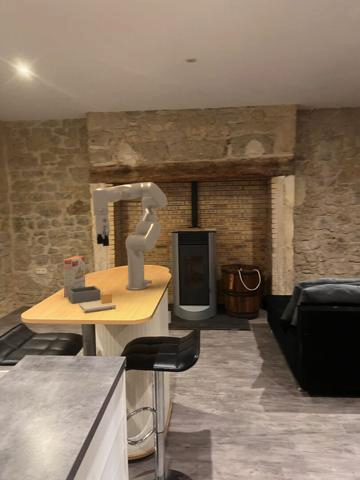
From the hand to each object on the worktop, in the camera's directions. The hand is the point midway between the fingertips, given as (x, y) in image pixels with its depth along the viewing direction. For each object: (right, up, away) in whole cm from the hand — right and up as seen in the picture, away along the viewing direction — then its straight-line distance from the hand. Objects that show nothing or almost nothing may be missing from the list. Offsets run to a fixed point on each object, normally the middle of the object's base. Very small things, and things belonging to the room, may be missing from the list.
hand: (103, 245), depth 185 cm
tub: (-9, -29, -4) cm, 30 cm away
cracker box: (-17, -28, +8) cm, 33 cm away
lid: (+1, -30, -17) cm, 34 cm away
